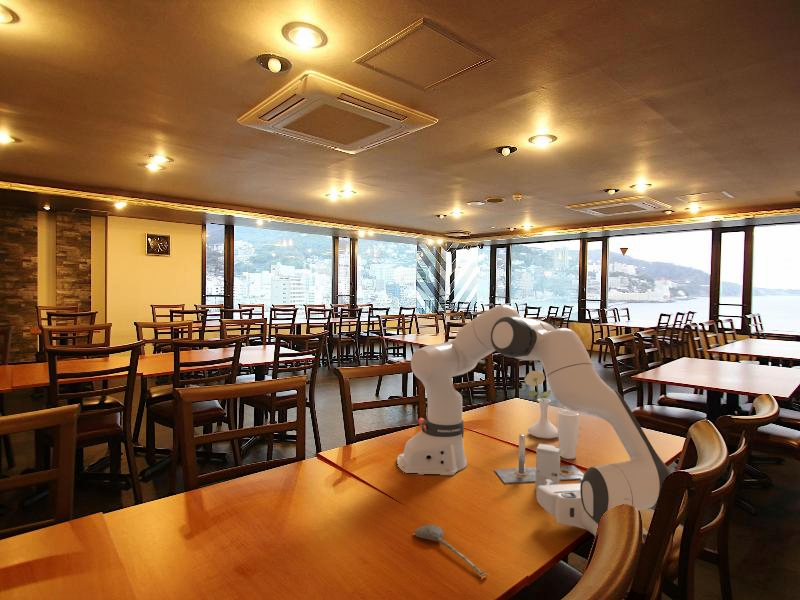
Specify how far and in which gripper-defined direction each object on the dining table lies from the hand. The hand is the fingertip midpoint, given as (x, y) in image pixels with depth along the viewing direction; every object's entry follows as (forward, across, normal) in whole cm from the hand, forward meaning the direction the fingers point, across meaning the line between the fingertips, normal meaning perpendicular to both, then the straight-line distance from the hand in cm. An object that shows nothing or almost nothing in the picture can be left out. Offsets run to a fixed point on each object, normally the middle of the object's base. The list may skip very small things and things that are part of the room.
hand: (564, 481), depth 117 cm
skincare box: (+10, 0, +7) cm, 12 cm away
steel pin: (+19, +4, +7) cm, 20 cm away
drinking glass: (+31, -17, +7) cm, 36 cm away
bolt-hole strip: (+19, -2, +7) cm, 20 cm away
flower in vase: (+51, -17, +7) cm, 54 cm away
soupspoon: (-15, +34, +8) cm, 38 cm away
